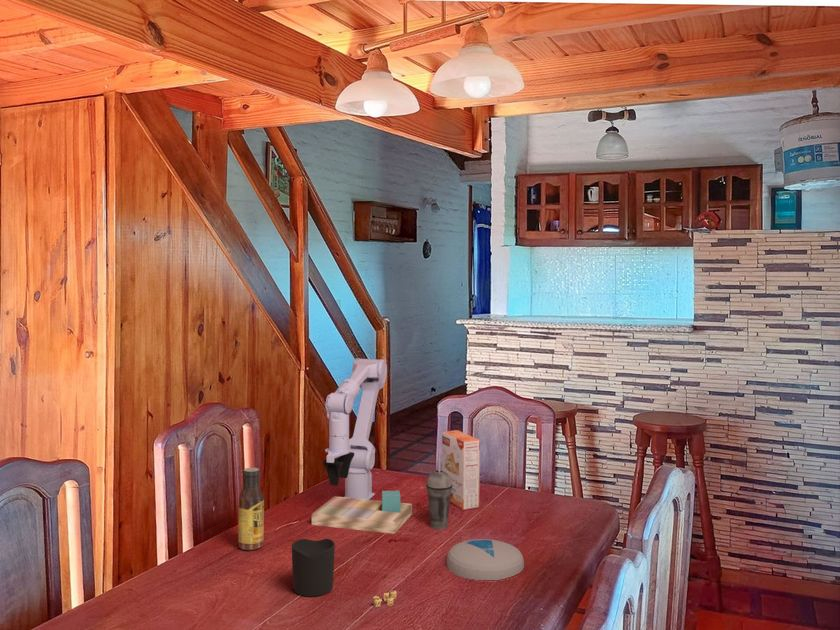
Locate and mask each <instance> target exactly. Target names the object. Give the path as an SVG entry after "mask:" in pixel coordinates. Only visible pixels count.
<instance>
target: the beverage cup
mask: <svg viewBox="0 0 840 630" xmlns="http://www.w3.org/2000/svg"><path fill="white" fill-rule="evenodd" d="M437 458H438V461H437V462H438V463H437V464H438V465H437V467H438V470H434V471H433V472H431V474H429V476H428V478H427V480H426V484H425V487H426V492H427V499H428V510H429V512H428V513H429V514H428V515H429V522H430V528H431V529H433V530H437V531H438V530H439V531H440V530H441V531H442V530H446V529H447V528H448V523H449V515H450V503H451V502H450V494H451V491H452V487H453V486H452V481H451V478H450V476H449V475H448V474H447V473H446V472H444V471H442V469H441V456H440V455H438V456H437Z"/></svg>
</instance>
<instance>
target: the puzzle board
mask: <svg viewBox="0 0 840 630" xmlns="http://www.w3.org/2000/svg"><path fill="white" fill-rule="evenodd" d="M412 514H413V504H412V503H406V502H405V503H404V502H400V513H397V512H387V511H382V500H376V499H375V500H374V499H369V500H366V499H356V498H346V497H344V496H337V495H335V496H332V497H331V498H330V499H329V500H328V501H327V502H325V503H323V504H322V505H321V506H320V507H319V508H317V509H316V510H315V511H314V512H312V513H311V525H313V526H321V527H329V528H337V529H347V530H356V531H357V530H358V531H364V532H375V533H381V534H382V533H383V534H393V535H395V534H396V533H397V532H398V531H399V529H400V528H401V527H402V526H404V524H405V523H406V522H407V520H409V518H410V517H411V516H412Z"/></svg>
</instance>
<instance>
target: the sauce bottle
mask: <svg viewBox="0 0 840 630" xmlns="http://www.w3.org/2000/svg"><path fill="white" fill-rule="evenodd" d="M242 472H243V488H242V490H241V492H240V494H239V496H238V497H239V498H238V520H237V521H238V522H237V523H238V524H237V525H238V527H237V528H238V531H237V533H238V534H237V536H238V537H237V538H238V546H239V549H241V550H242V551H255V550H258V549H260V548H262V547H263V544H264V530H265V528H264V526H265V523H264V522H265V519H264V518H265V514H264V513H265V511H264V510H265V499H264V496H263V494H262V493H263V492H262V491H261V487H260V474H261V473H260V469H259V468H258V467H247V468H244V469H243V470H242Z"/></svg>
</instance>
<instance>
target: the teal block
mask: <svg viewBox="0 0 840 630" xmlns="http://www.w3.org/2000/svg"><path fill="white" fill-rule="evenodd" d="M381 501H382V511H387V512H397V513H400V503H401V493H400V490H381Z"/></svg>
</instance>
